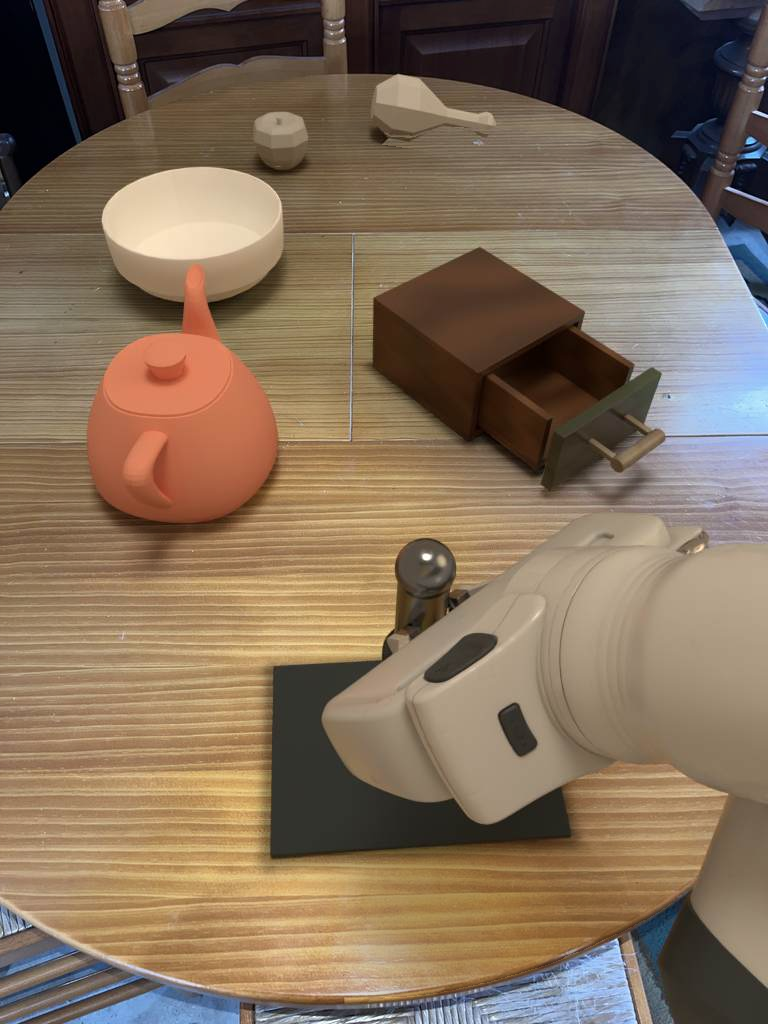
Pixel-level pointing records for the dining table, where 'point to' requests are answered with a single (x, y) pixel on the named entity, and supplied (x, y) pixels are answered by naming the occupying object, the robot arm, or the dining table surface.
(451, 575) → the domed metal post
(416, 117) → the chicken leg
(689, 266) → the dining table surface
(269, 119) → the apple
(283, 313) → the dining table surface
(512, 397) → the drawer
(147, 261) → the bowl
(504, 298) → the cabinet
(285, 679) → the mat
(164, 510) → the teapot
